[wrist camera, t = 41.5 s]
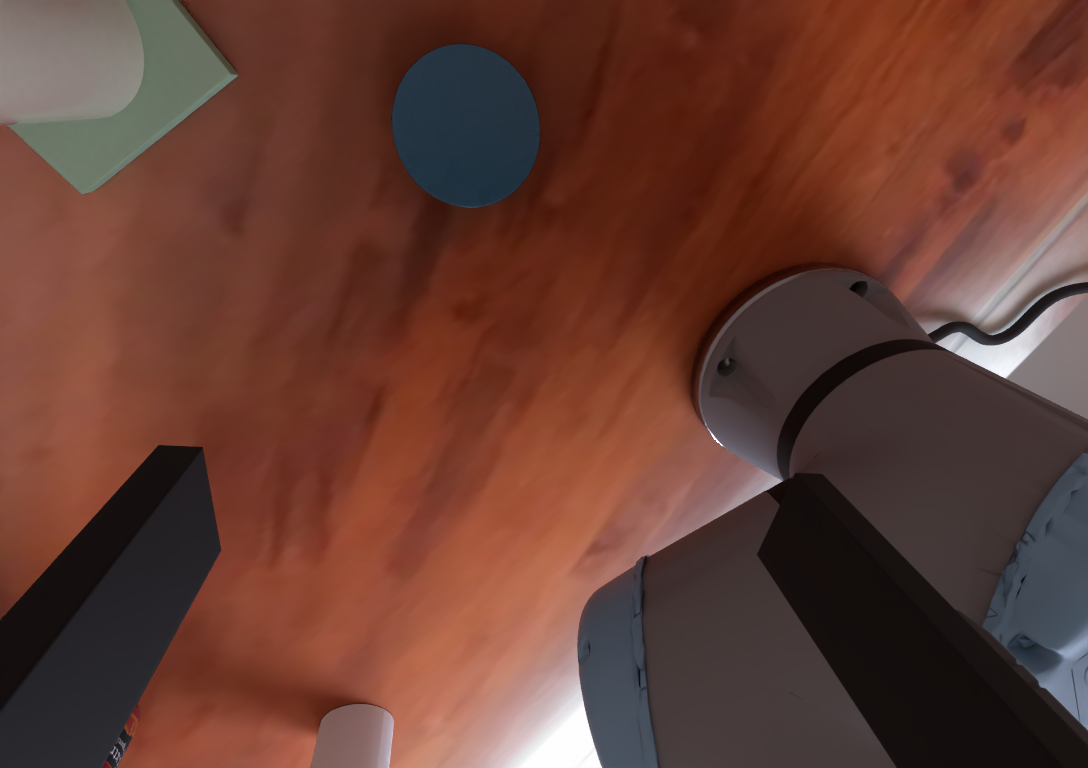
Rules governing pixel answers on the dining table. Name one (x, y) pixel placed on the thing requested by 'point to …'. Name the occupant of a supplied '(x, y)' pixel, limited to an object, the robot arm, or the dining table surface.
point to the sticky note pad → (138, 99)
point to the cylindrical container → (354, 738)
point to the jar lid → (466, 125)
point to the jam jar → (67, 60)
